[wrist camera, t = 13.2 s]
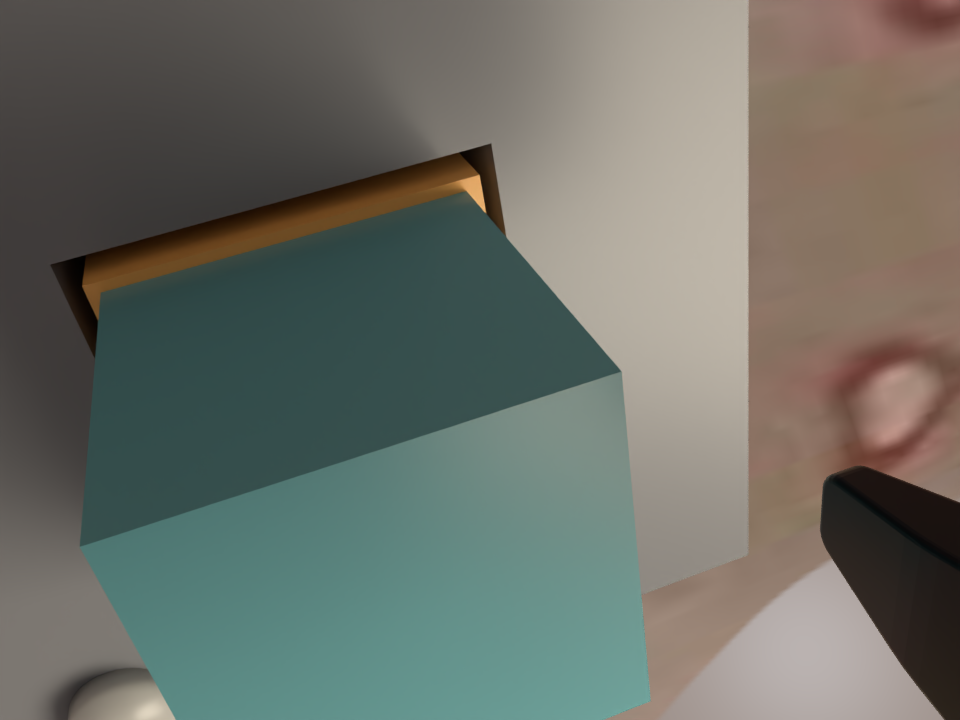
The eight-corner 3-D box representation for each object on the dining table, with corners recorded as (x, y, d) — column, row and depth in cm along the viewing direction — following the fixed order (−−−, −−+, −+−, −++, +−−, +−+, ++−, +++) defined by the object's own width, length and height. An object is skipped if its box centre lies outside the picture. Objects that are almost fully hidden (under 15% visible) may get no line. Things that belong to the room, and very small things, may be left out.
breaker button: (485, 394, 18) (530, 470, 16) (207, 483, 17) (216, 578, 15) (432, 124, 15) (479, 174, 13) (90, 215, 14) (81, 286, 12)
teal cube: (515, 465, 15) (650, 700, 11) (220, 564, 15) (252, 857, 10) (466, 190, 13) (621, 371, 9) (101, 292, 12) (78, 547, 8)
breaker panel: (658, 444, 22) (761, 571, 18) (69, 648, 20) (53, 839, 16) (610, -238, 14) (771, -256, 11) (-363, -40, 12) (-583, 25, 8)
